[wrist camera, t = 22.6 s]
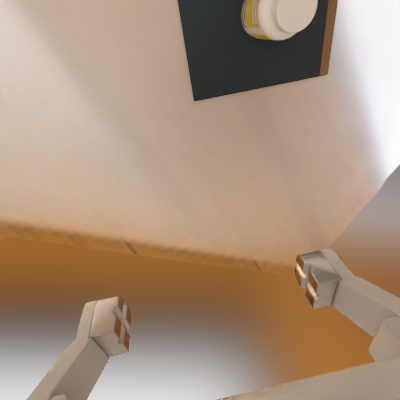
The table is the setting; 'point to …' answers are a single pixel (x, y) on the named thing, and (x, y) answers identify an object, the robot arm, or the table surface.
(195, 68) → the mat
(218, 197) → the table surface
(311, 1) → the supplement bottle
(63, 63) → the table surface
